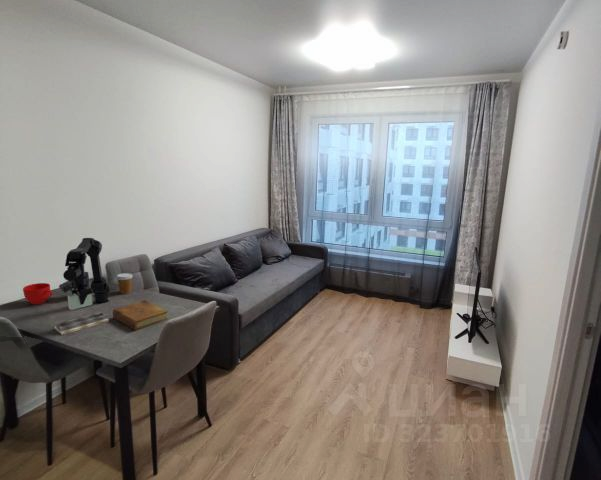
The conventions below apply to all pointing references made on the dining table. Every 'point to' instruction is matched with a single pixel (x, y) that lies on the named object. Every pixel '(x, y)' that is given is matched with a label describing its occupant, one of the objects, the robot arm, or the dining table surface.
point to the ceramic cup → (37, 293)
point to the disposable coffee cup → (124, 282)
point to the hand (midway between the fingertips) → (80, 303)
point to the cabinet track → (81, 323)
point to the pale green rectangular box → (75, 303)
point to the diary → (140, 315)
